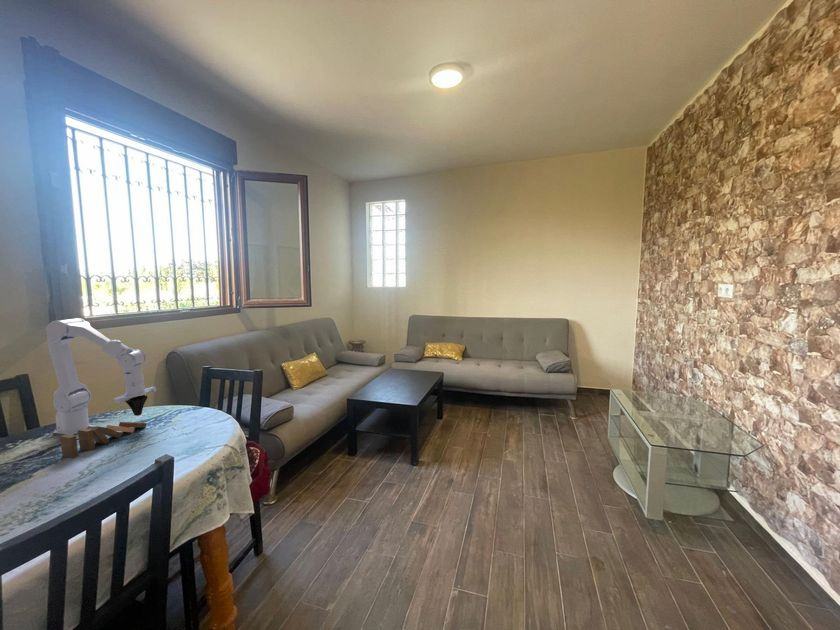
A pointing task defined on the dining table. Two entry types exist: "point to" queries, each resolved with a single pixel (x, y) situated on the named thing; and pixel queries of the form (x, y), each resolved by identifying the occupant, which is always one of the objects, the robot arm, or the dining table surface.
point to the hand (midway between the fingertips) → (137, 414)
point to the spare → (120, 428)
